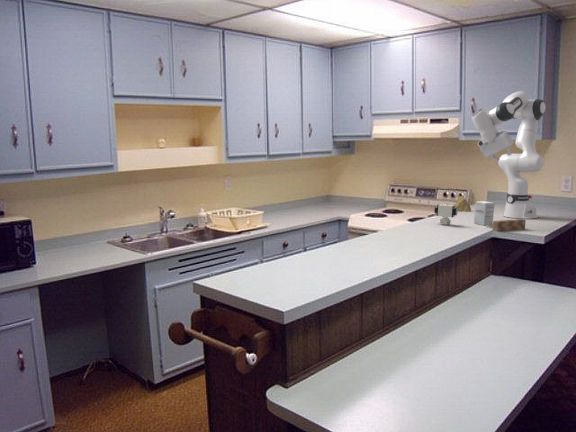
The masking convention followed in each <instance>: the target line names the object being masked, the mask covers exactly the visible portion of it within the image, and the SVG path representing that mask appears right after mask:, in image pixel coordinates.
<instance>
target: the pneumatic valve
mask: <svg viewBox="0 0 576 432" xmlns="http://www.w3.org/2000/svg"><path fill="white" fill-rule="evenodd" d="M455 206H456V205H455V204H454V205H453V204H448V202H445V204H444V203H442V204H441V203H439V204H437V205H435V207H434V214H435V215H436V217H441V218H440V219H439V223H440V225H443V226H448V225H451V222H452V221H451V219H450V218H455V216H457V215H458V212H459V211H458V208H456V207H455Z"/></svg>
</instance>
